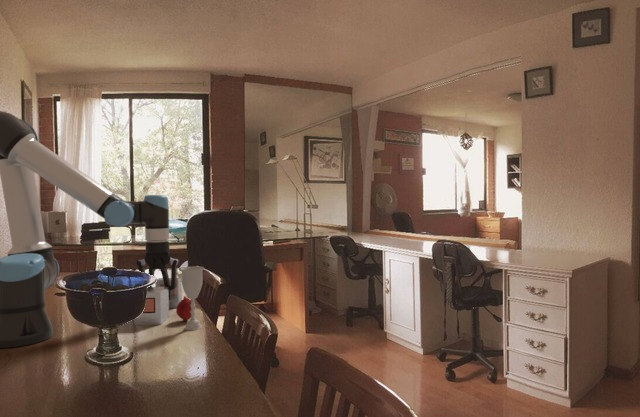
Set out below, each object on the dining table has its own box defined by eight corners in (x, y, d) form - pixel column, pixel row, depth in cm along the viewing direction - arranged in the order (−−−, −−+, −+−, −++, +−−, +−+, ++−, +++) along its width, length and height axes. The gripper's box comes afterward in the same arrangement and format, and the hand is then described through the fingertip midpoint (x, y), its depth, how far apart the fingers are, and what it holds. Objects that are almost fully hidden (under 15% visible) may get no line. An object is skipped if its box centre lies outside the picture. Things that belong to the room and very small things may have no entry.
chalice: (197, 331, 127) (196, 270, 126) (176, 330, 128) (175, 269, 128) (209, 324, 134) (208, 266, 133) (188, 323, 135) (187, 266, 135)
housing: (160, 324, 135) (160, 292, 135) (134, 325, 135) (133, 293, 134) (168, 316, 144) (168, 286, 144) (144, 317, 144) (143, 287, 143)
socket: (178, 307, 157) (178, 279, 156) (155, 308, 156) (155, 280, 156) (181, 304, 161) (181, 277, 161) (159, 305, 160) (159, 278, 160)
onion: (198, 318, 141) (197, 294, 141) (191, 323, 135) (190, 298, 135) (181, 318, 142) (180, 294, 142) (173, 323, 136) (172, 297, 136)
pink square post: (154, 311, 135) (153, 298, 135) (140, 312, 135) (140, 299, 135) (170, 298, 153) (169, 287, 153) (158, 299, 153) (158, 287, 152)
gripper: (186, 239, 150) (187, 306, 151) (135, 240, 149) (136, 308, 149) (180, 241, 143) (181, 312, 143) (127, 242, 142) (128, 314, 142)
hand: (158, 310), depth 146 cm, fingers closed on pink square post, 4 cm apart
